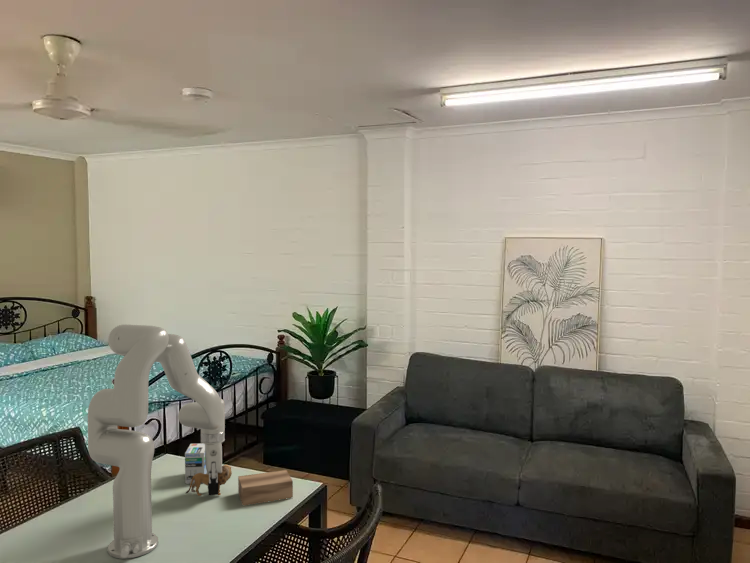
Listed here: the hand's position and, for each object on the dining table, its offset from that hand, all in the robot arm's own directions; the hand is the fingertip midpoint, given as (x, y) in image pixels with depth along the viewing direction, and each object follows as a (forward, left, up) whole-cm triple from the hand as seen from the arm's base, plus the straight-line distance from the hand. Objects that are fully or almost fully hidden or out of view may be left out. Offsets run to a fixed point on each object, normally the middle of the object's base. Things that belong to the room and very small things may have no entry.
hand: (213, 491), depth 193 cm
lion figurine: (+1, +1, -1) cm, 1 cm away
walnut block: (-6, -16, -2) cm, 17 cm away
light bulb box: (+16, +5, -2) cm, 17 cm away
